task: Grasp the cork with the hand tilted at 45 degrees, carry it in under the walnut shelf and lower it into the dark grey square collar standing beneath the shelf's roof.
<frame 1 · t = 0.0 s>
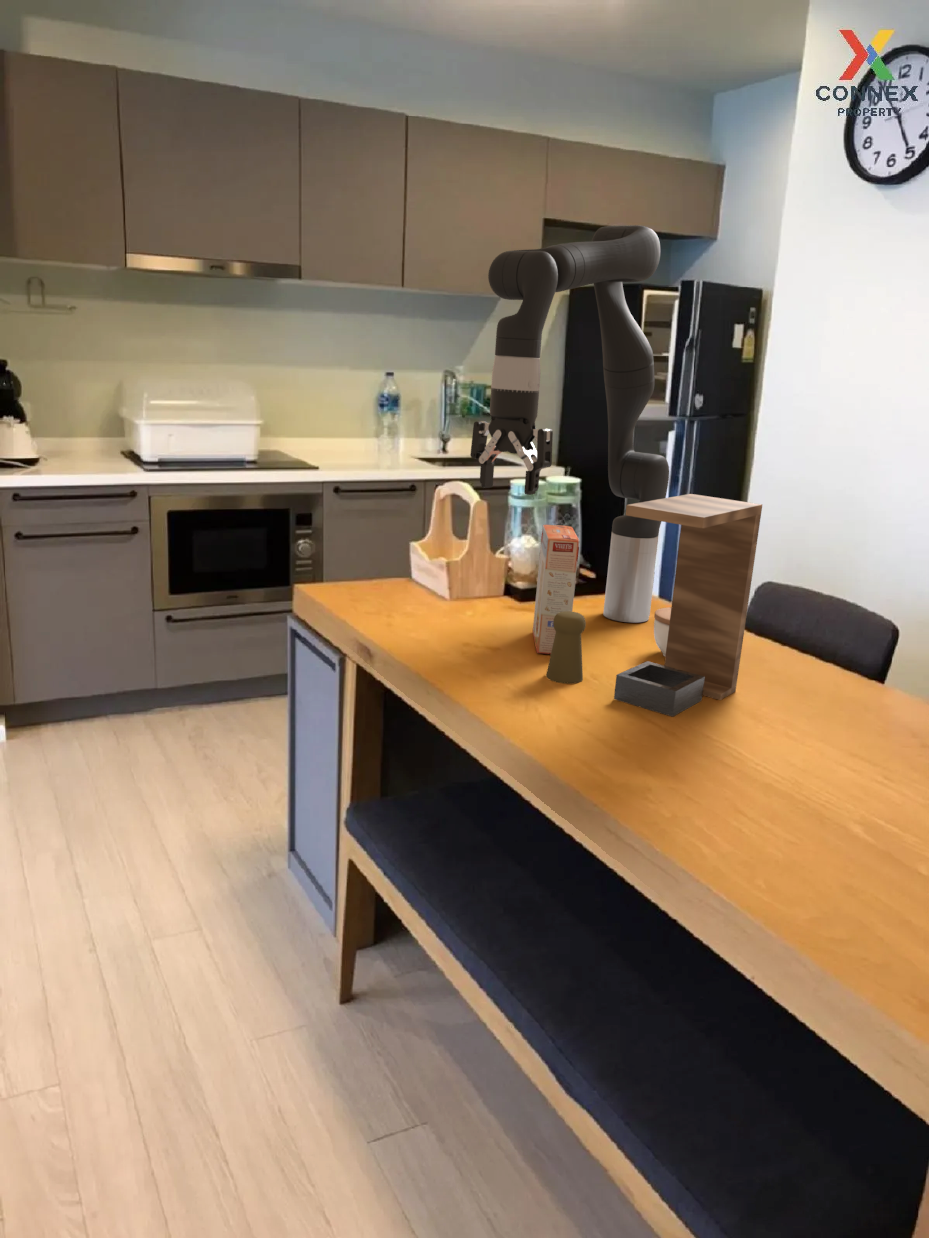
hand: (508, 490, 156), 29 cm above the table, tool pointing down, fingers open, 8 cm apart
shelf: (672, 696, 153), on the table
cork: (564, 678, 159), on the table
cracker box: (550, 645, 177), on the table
socket: (657, 699, 151), on the table
lidded jar: (680, 657, 174), on the table
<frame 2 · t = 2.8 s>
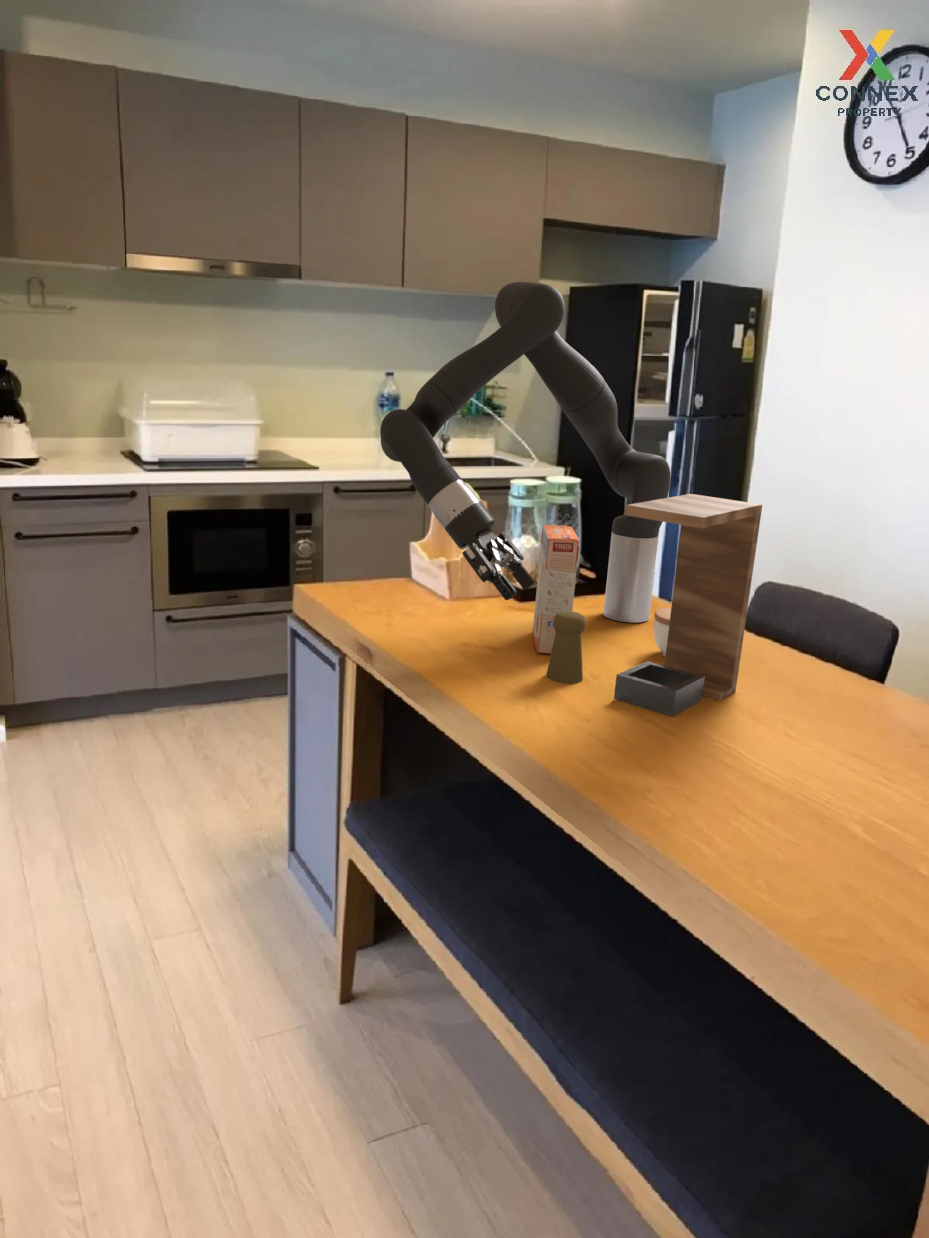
hand: (521, 591, 159), 13 cm above the table, tool tilted 45°, fingers open, 8 cm apart
nothing on the table moved.
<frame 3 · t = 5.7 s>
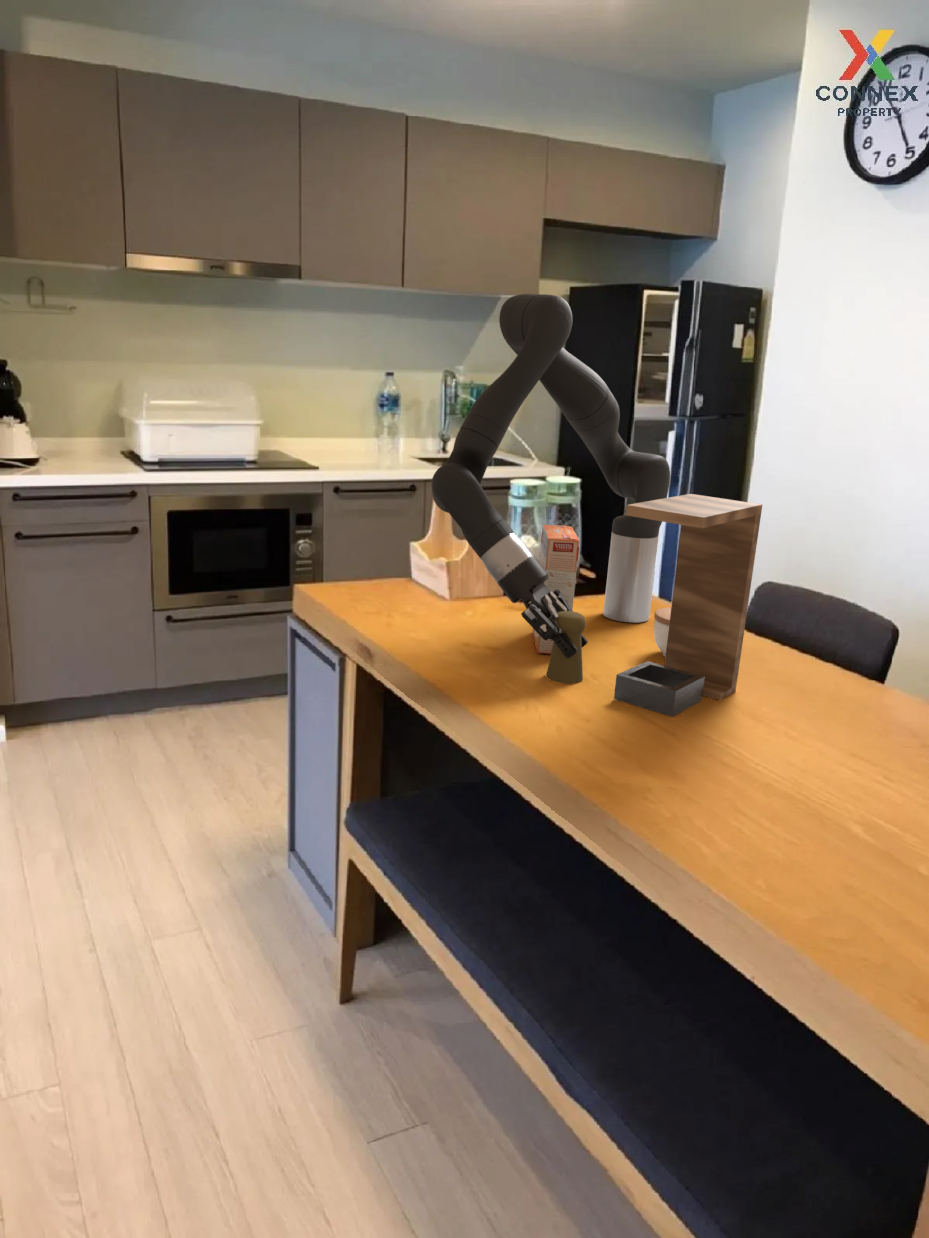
hand: (578, 650, 157), 5 cm above the table, tool tilted 45°, fingers closed on cork, 5 cm apart
cork: (564, 678, 159), on the table, touching gripper
everything else where it was.
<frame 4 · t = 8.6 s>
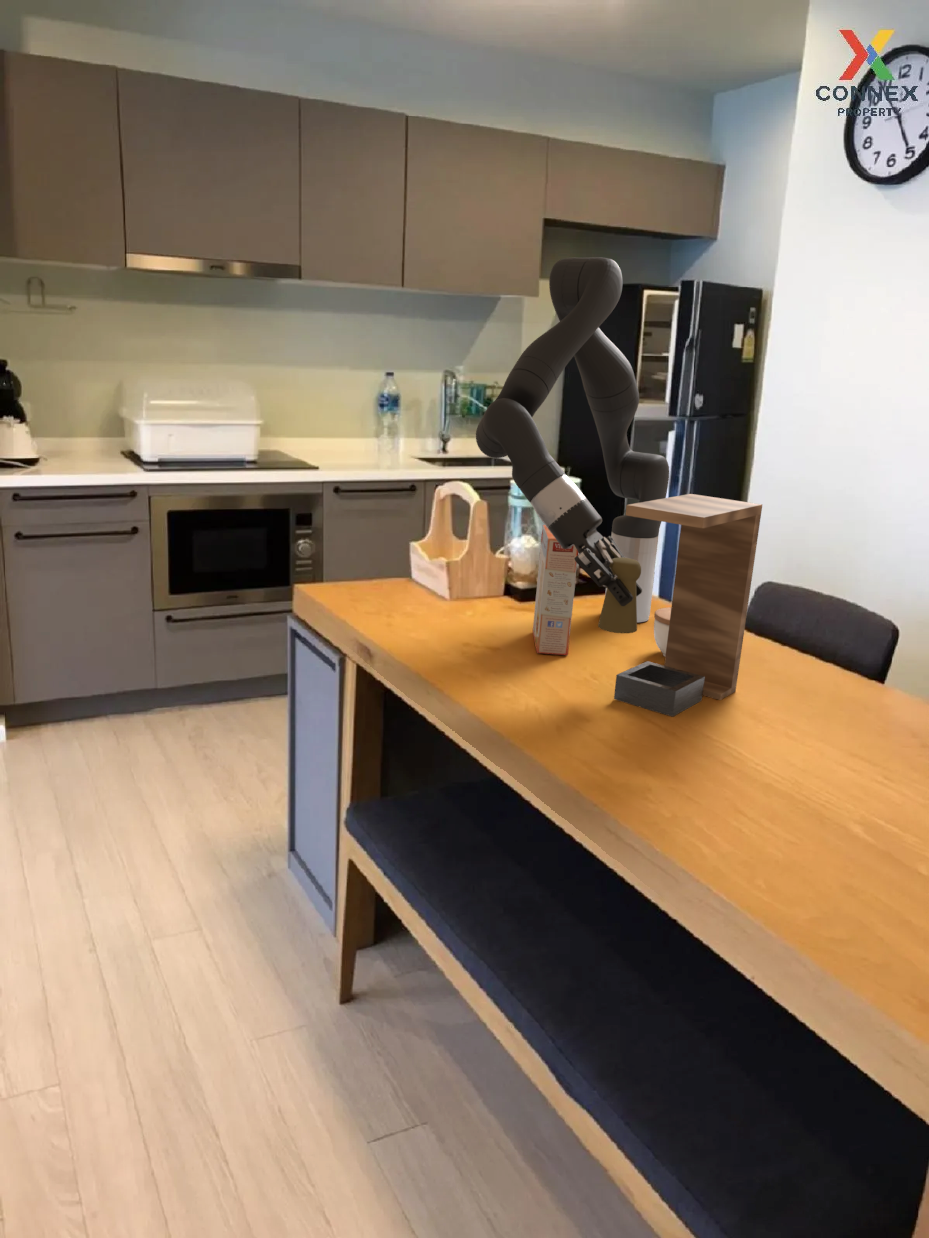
hand: (632, 598, 149), 15 cm above the table, tool tilted 45°, fingers closed on cork, 5 cm apart
cork: (617, 628, 151), point 10 cm above the table, touching gripper
everything else where it was.
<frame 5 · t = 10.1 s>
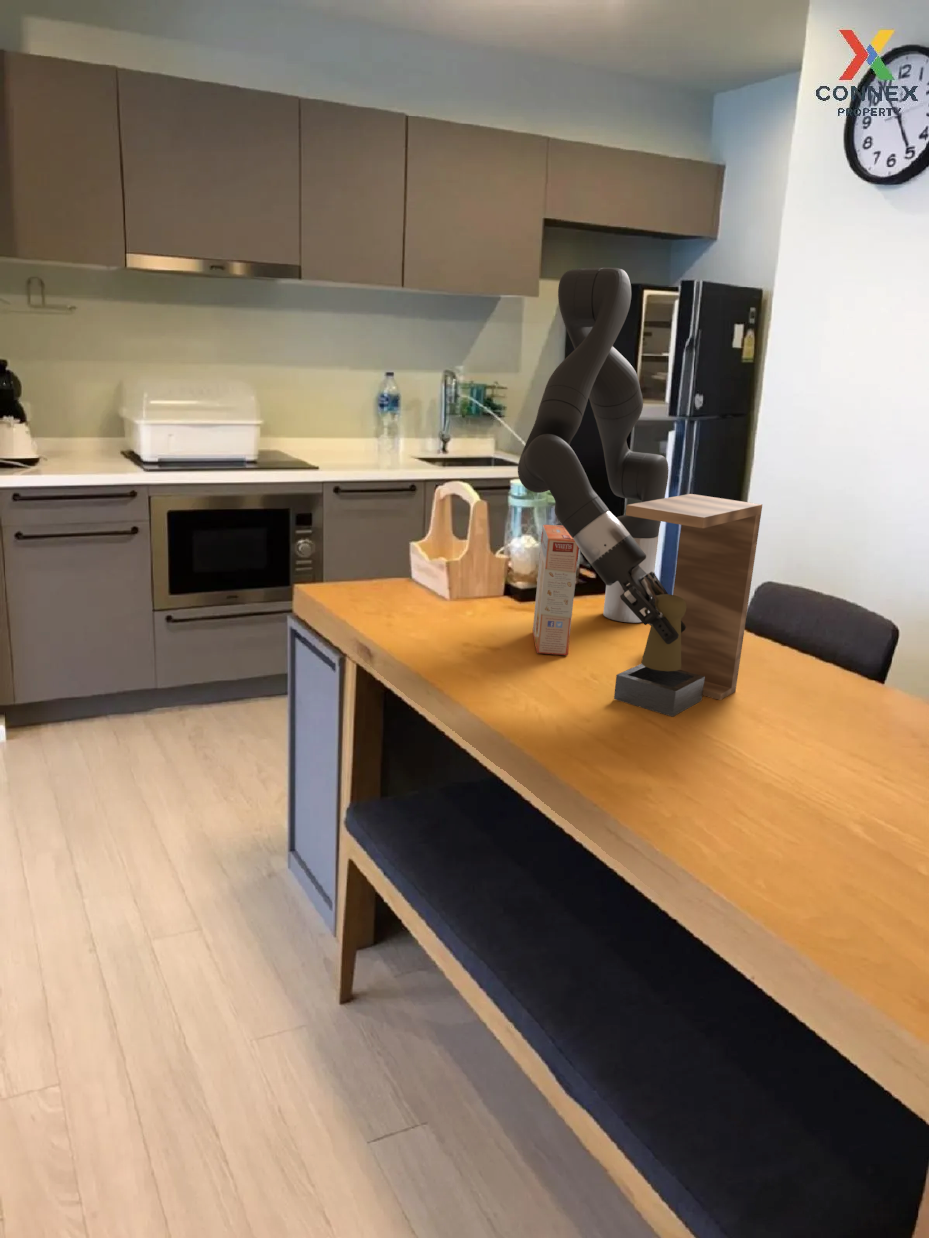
hand: (677, 636, 148), 11 cm above the table, tool tilted 45°, fingers closed on cork, 5 cm apart
cork: (661, 666, 150), point 6 cm above the table, touching gripper
everything else where it was.
when the fingers open (6 cm above the table, at t = 11.4 s): cork drops 1 cm, resting in socket.
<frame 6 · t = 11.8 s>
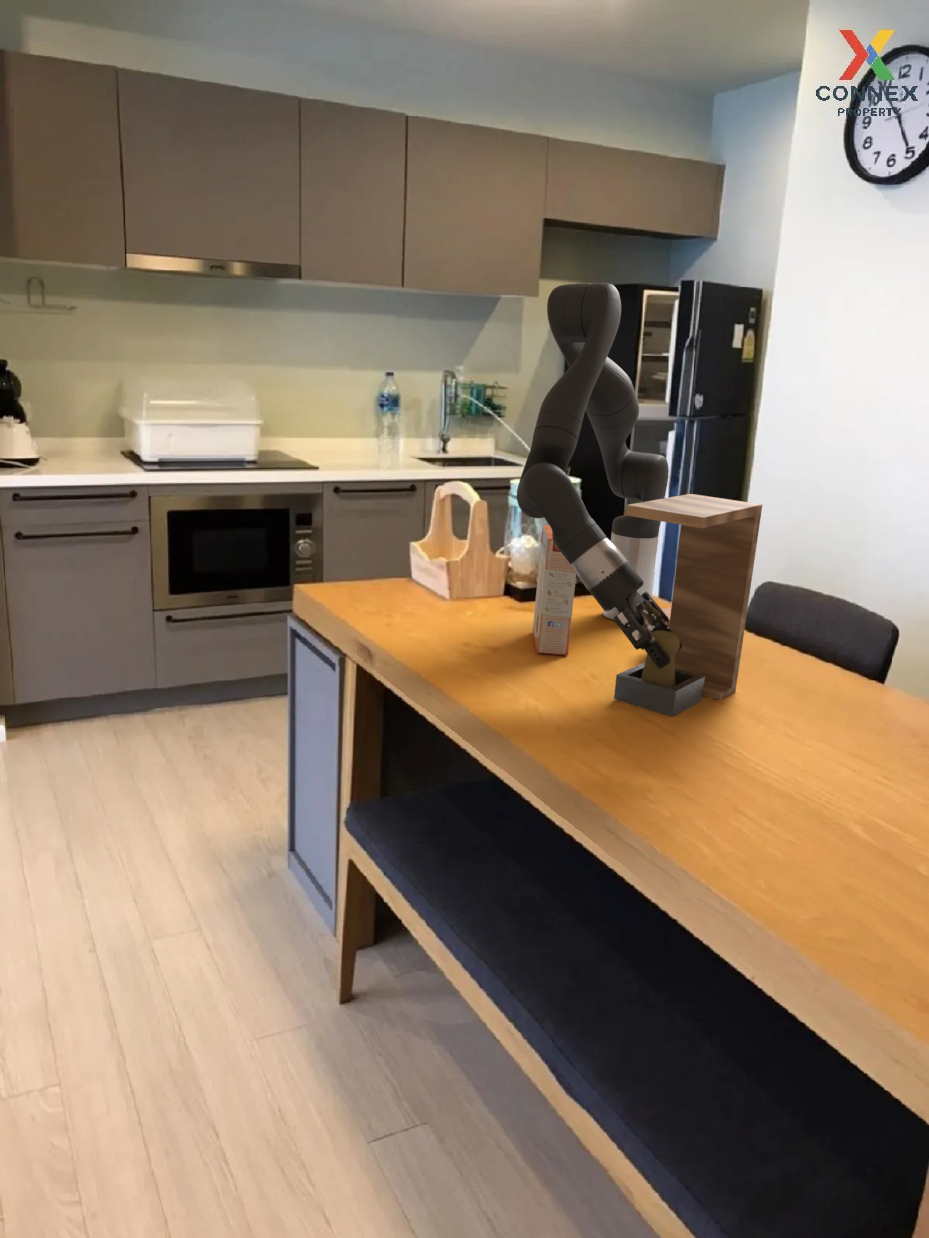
hand: (672, 657, 149), 7 cm above the table, tool tilted 45°, fingers open, 8 cm apart
cork: (655, 701, 151), resting in socket
everything else where it was.
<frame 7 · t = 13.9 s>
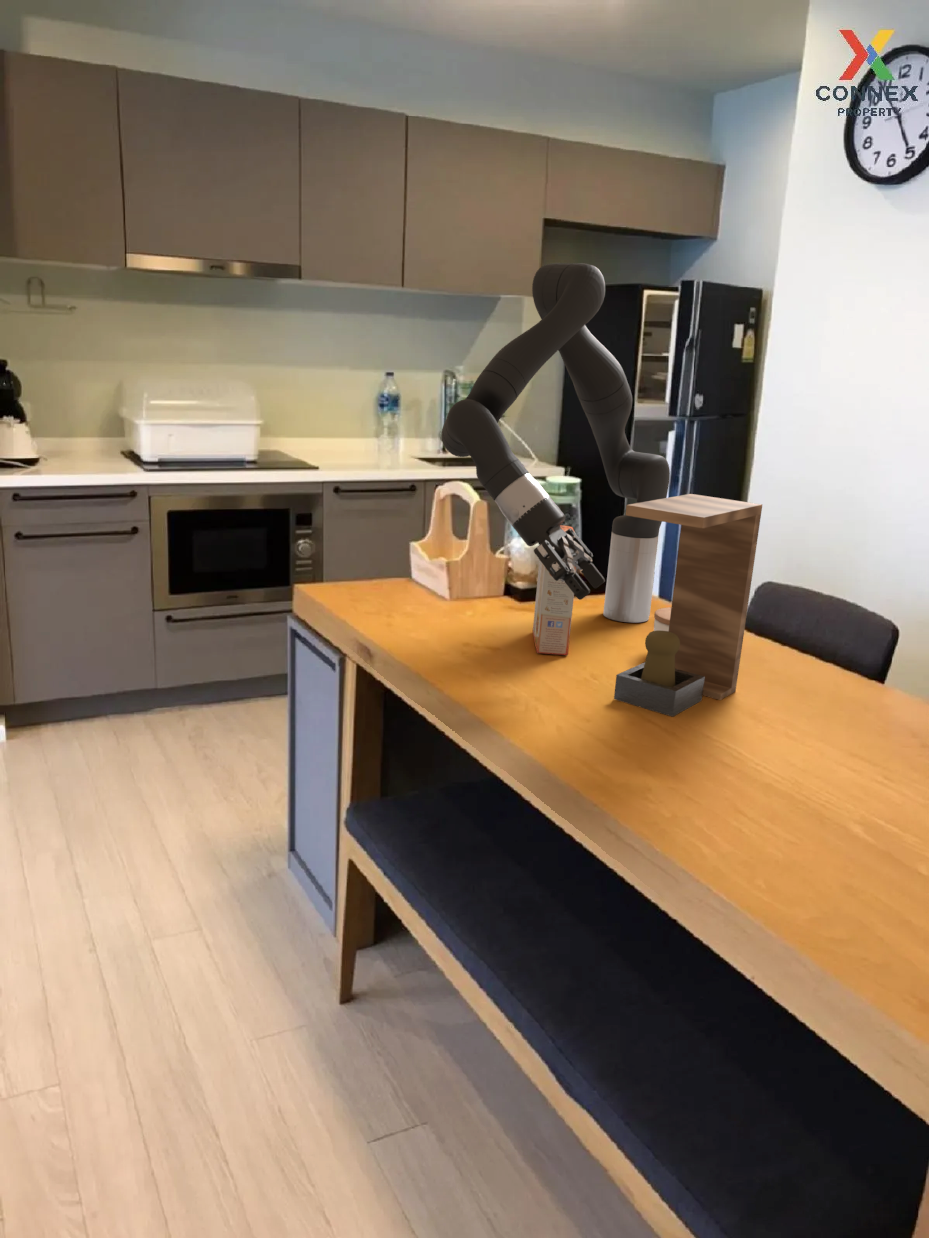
hand: (593, 590, 152), 16 cm above the table, tool tilted 45°, fingers open, 8 cm apart
nothing on the table moved.
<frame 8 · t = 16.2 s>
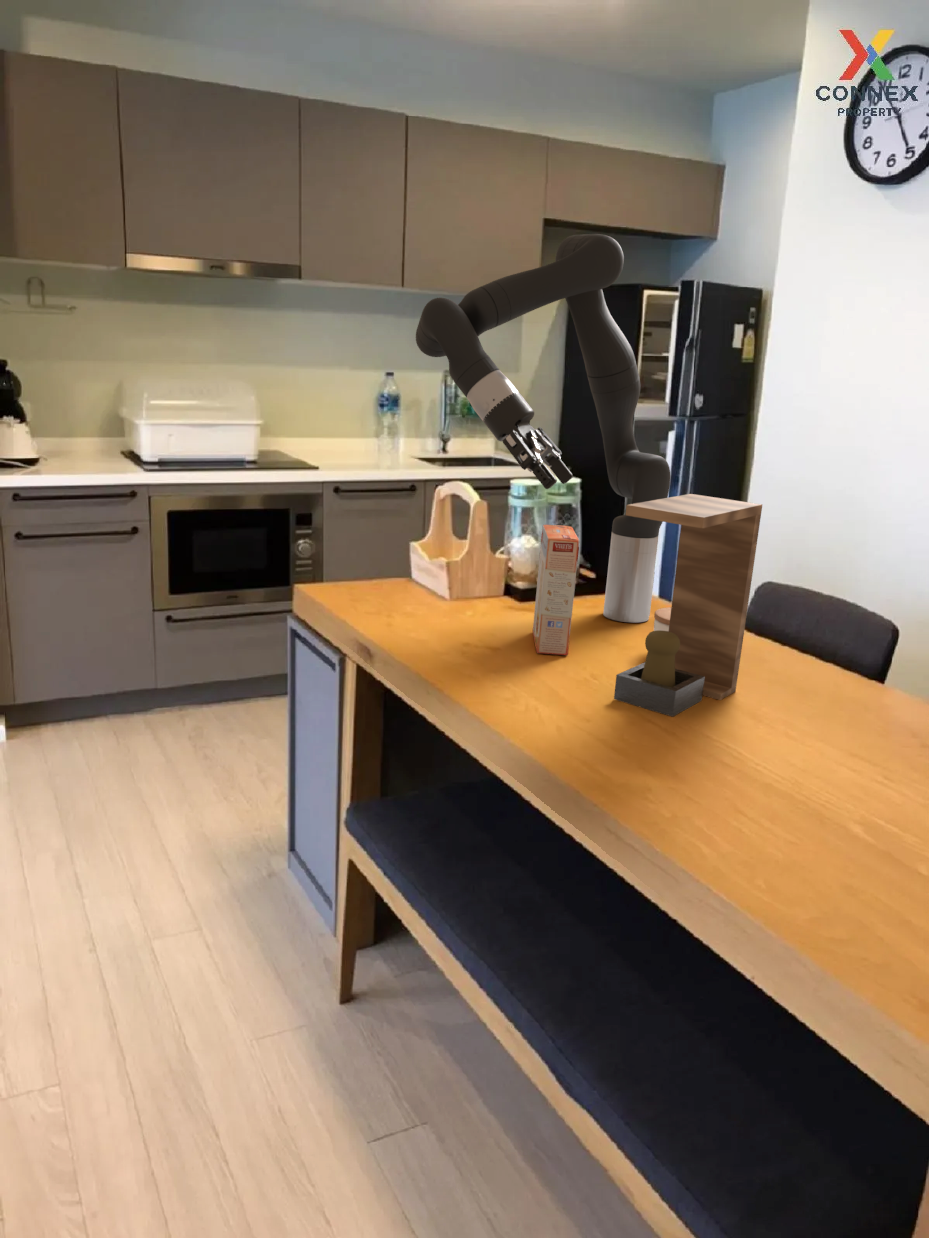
hand: (560, 483, 158), 31 cm above the table, tool tilted 45°, fingers open, 8 cm apart
nothing on the table moved.
at the end: cork 0.4 cm off-centre on the socket, point 0.0 cm above the socket's base; cork tilted 0°; the gripper is holding nothing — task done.
